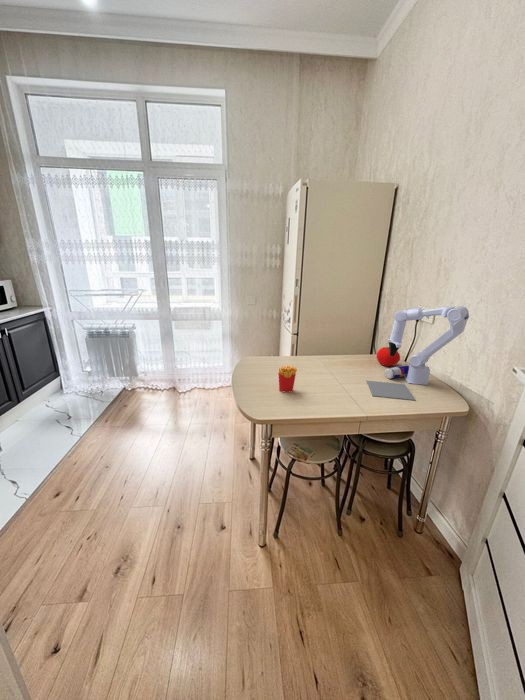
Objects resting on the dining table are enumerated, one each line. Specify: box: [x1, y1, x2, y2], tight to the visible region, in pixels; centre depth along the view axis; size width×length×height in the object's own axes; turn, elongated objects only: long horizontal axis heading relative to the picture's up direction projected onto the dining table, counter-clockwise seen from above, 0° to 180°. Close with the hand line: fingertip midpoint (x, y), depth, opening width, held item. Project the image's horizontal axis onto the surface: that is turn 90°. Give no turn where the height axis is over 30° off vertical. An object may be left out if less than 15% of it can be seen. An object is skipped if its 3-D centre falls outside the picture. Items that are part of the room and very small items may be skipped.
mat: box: [366, 380, 416, 402], centre depth 140 cm, size 19×17×1 cm
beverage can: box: [384, 364, 410, 380], centre depth 155 cm, size 6×6×15 cm
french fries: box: [278, 365, 298, 393], centre depth 134 cm, size 8×4×12 cm, turn 92°
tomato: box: [376, 346, 401, 367], centre depth 171 cm, size 12×13×11 cm
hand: (391, 355), depth 157 cm, fingers closed
